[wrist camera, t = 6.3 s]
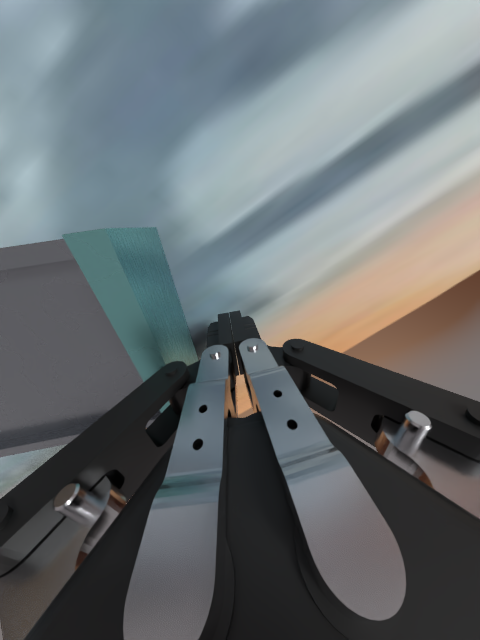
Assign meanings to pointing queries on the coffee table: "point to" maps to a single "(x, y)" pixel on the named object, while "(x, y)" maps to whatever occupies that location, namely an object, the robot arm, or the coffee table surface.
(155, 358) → the grey toy bed
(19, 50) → the coffee table surface
